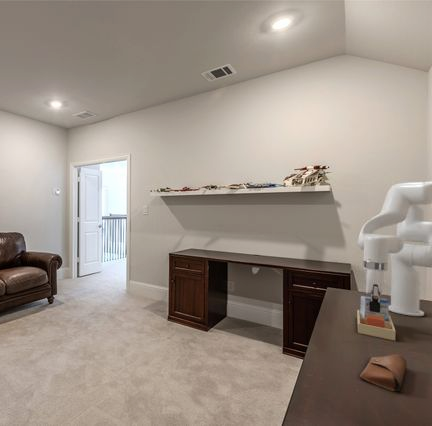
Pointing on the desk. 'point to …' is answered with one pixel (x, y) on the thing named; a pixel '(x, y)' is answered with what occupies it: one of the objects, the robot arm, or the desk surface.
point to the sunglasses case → (385, 371)
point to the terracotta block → (375, 321)
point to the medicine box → (383, 312)
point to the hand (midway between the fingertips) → (374, 309)
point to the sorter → (376, 328)
